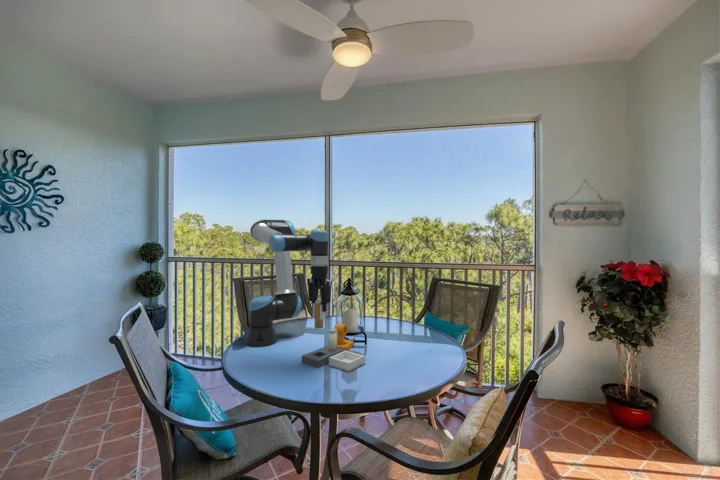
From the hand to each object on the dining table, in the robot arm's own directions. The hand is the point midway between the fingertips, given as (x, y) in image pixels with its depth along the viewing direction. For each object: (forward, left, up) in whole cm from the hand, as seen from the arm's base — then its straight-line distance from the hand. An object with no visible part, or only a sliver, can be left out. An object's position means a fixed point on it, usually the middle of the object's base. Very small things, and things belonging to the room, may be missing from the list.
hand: (319, 317), depth 153 cm
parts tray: (+13, +4, -19) cm, 23 cm away
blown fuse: (0, 0, -4) cm, 4 cm away
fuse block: (0, +3, -19) cm, 19 cm away
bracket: (-2, +19, -19) cm, 27 cm away
